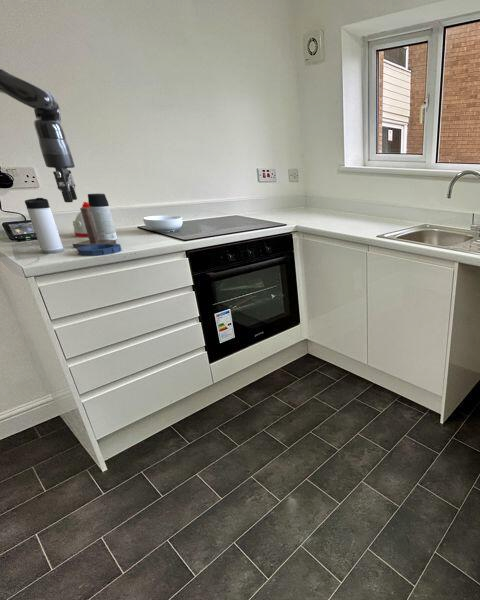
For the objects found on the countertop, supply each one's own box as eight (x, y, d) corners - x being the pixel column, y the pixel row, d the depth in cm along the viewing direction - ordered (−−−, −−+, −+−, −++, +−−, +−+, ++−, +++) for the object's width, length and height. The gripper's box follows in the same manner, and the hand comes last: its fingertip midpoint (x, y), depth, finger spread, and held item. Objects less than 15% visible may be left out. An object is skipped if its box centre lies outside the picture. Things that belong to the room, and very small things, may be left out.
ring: (104, 256, 133) (103, 251, 132) (69, 255, 133) (68, 250, 132) (129, 248, 145) (127, 243, 144) (97, 247, 145) (95, 242, 144)
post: (98, 248, 143) (87, 209, 138) (73, 247, 143) (61, 209, 137) (116, 243, 153) (106, 206, 147) (93, 242, 152) (82, 206, 147)
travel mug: (67, 249, 141) (51, 197, 133) (59, 252, 135) (42, 199, 128) (47, 249, 139) (29, 197, 131) (38, 253, 133) (19, 199, 126)
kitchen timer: (85, 238, 159) (75, 204, 154) (69, 234, 165) (59, 202, 159) (119, 233, 171) (110, 202, 166) (103, 230, 177) (94, 199, 171)
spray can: (117, 237, 162) (105, 193, 155) (117, 240, 158) (105, 194, 150) (99, 239, 159) (86, 193, 151) (98, 242, 154) (85, 194, 146)
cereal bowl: (178, 234, 175) (176, 219, 173) (140, 234, 171) (137, 220, 168) (188, 228, 190) (186, 214, 188) (153, 228, 186) (150, 215, 183)
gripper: (47, 152, 125) (61, 199, 131) (36, 152, 114) (52, 203, 120) (74, 153, 129) (87, 198, 135) (66, 153, 118) (81, 202, 124)
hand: (71, 201), depth 128 cm, fingers open, 8 cm apart
